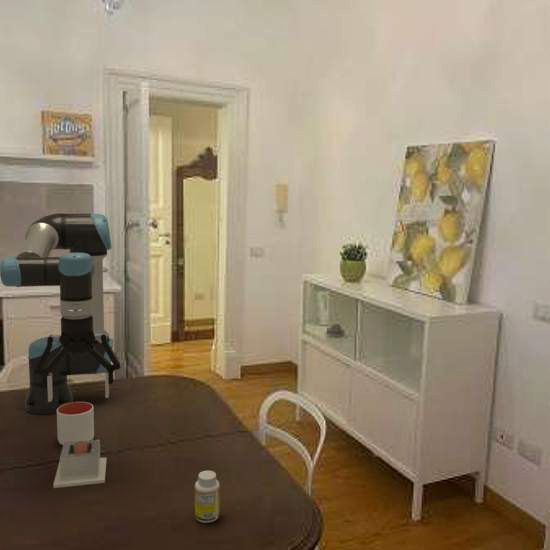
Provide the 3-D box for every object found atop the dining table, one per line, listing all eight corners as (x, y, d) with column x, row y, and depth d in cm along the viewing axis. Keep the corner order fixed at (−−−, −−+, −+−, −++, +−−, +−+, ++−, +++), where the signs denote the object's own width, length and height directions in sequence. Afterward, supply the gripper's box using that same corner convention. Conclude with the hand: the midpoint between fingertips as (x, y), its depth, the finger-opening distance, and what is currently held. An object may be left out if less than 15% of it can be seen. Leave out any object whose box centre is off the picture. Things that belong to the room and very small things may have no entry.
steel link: (64, 463, 145) (63, 442, 144) (100, 460, 147) (99, 439, 146) (60, 481, 136) (59, 458, 135) (98, 477, 138) (97, 455, 138)
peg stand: (59, 464, 146) (58, 436, 145) (106, 460, 149) (105, 432, 148) (53, 488, 134) (52, 457, 133) (104, 482, 138) (104, 452, 136)
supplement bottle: (207, 507, 128) (208, 465, 127) (224, 516, 125) (225, 474, 123) (189, 517, 124) (189, 474, 122) (206, 527, 120) (206, 483, 119)
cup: (82, 450, 154) (81, 416, 153) (50, 446, 156) (49, 413, 155) (100, 435, 164) (99, 403, 162) (70, 431, 166) (69, 400, 164)
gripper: (19, 321, 129) (23, 407, 132) (129, 317, 135) (130, 399, 138) (24, 314, 136) (28, 395, 139) (129, 311, 142) (130, 389, 146)
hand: (79, 397), depth 139 cm, fingers open, 13 cm apart
